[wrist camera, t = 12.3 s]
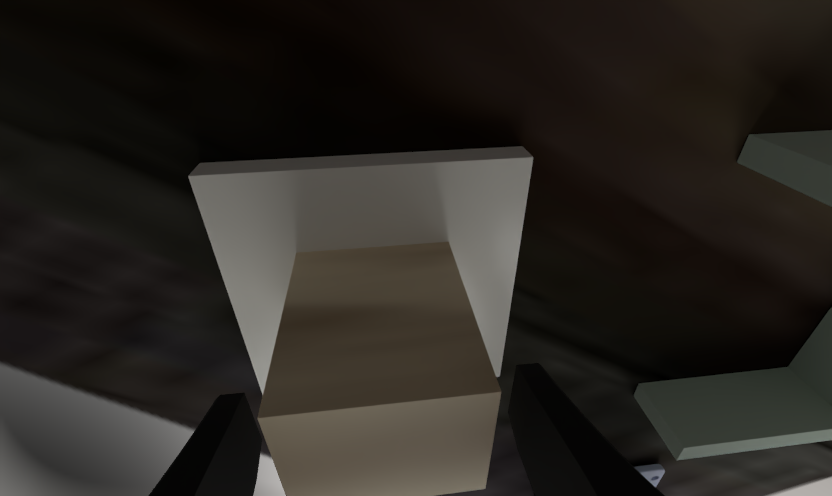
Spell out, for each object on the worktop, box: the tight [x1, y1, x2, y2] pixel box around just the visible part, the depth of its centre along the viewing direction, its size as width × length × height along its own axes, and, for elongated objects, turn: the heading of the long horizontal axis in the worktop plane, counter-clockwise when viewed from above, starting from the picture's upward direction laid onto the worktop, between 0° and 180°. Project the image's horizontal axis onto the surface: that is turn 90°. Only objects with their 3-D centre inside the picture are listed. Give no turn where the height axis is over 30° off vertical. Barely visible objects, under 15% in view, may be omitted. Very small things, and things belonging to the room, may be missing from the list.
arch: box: [633, 130, 832, 460], centre depth 17 cm, size 14×10×4 cm
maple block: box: [258, 242, 501, 496], centre depth 12 cm, size 4×5×6 cm
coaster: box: [188, 146, 533, 394], centre depth 15 cm, size 10×10×1 cm
